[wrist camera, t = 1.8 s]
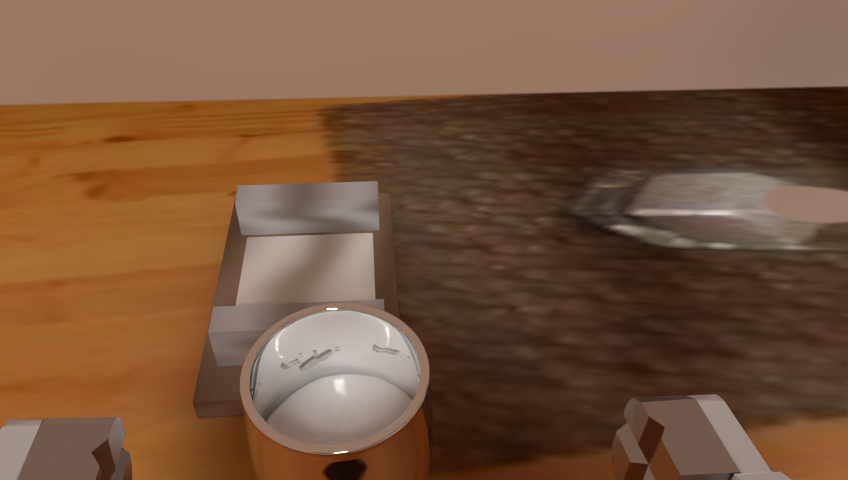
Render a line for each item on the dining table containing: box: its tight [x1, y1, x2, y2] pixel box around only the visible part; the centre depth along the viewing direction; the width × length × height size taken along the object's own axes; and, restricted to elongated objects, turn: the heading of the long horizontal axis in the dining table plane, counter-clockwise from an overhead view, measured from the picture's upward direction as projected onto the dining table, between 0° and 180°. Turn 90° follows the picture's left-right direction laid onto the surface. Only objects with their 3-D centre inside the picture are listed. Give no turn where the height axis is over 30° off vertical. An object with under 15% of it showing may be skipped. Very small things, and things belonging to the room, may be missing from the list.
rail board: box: [193, 181, 400, 418], centre depth 46 cm, size 12×19×4 cm, turn 5°
